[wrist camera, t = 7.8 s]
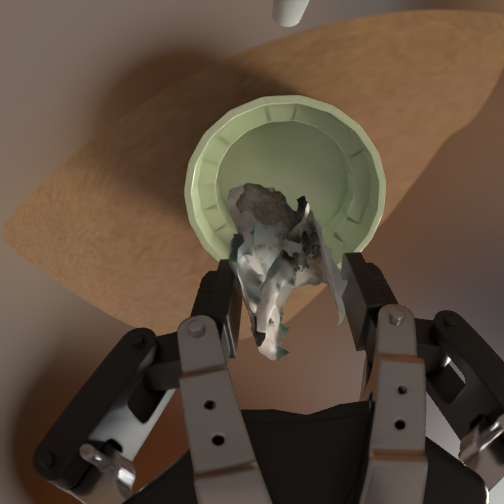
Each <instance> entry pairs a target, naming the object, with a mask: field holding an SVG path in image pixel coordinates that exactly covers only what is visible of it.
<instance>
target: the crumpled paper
mask: <svg viewBox="0 0 504 504" xmlns="http://www.w3.org/2000/svg"><path fill="white" fill-rule="evenodd" d="M297 202H298V208H297V211H294V210H292V208H291V207H290V206H289V205H288V204H287V201H286V197H285V196H284V195H283V194H282V193H281V192H280V191H275V188H274V187H269V188H265V187H263V186H262V185H260V184H256V185H255V184H252V183H246V184H243V185H241V186H239V187H235V188H232V189H230V190H229V194H228V197H227V200H226V203H227V207H228V209H229V212H230V214H231V217H232V219H233V222H234V224H235V226H236V229H237V232H238V234H235V233H234V235H233V237H234V238H232V239H231V240H230V242H231V243H230V251H229V259H230V260H229V265H230V266H231V268H232V270H233V272H234V275H235V277H236V279H237V281H238V283H239V286H240V288H241V294H242V297H243V300H244V303H245V305H246V308H247V310H248V314H249V316H250V319H251V320H250V321H251V323H252V328H251V331H252V333H253V336H254V337H255V340H256V345H257V347H258V349H259V351H260V353H262V354H264V355H265V356H266V357H268V358H269V359H271V360H275V359H276V360H280V359H285V358H283V357H284V356H285V355H286V354H287V353H288V351H286V350H284V349H283V348H282V343H281V340H282V339H283V338H284V337H285V336H286V334H287V332H288V329H289V327H288V328H285V327H284V326H283V325H282V324H281V323H280V322H281V319H282V317H281V316H282V315H284V314H283V309H284V305H285V303H286V301H287V299H288V297H289V295H290V293H291V291H292V289H294V288H296V287H298V286H302V285H306V284H312V285H319V284H320V283H322V282H323V283H326V284H328V286H329V290H330V293H331V296H332V298H333V299H334V301H335V304H336V306H337V310H338V312H339V316H340V320H339V323H338V326H339V324H340V323H341V322H342V321H343V319H344V316H345V308H344V304H343V301H342V298H341V297H342V295H343V292H344V290H345V288H346V286H347V284H348V280H342V277H341V272H340V269H339V268H338V267H337V265H336V264H335V262H334V260H333V258H332V256H331V255H332V247H327V246H326V244H325V242H324V240H323V237H322V229H321V226H320V220H316V219H315V217H314V214H313V211H311V210H310V207H309V203H308V200H307V198H306V197H305V195H304V196H301V197H300V198H298V199H297Z"/></svg>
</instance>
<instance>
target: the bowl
mask: <svg viewBox="0 0 504 504" xmlns="http://www.w3.org/2000/svg"><path fill="white" fill-rule="evenodd" d="M246 183H252V184H255V185H256V184H260V185H262V186H263V187H265V188H269V187H274V188H275V191H280V192H281V193H282V194H283V195H284V196H285V197H286V201H287V204H288V205H289V206H290V207H291V208H292V210H294V211H297V208H298V202H297V199H298V198H300V197H301V196H304V195H305V197H306V198H307V200H308V203H309V207H310V210H311V211H313V214H314V217H315V219H316V220H320V226H321V229H322V237H323V240H324V242H325V244H326V246H327V247H332V255H331V256H332V258H333V260H334V262H335V264H336V265H337V267H338V268H339V269H341V264H342V255H343V253H351V252H361V251H362V250H363V249H364V248H365V247H366V245H367V244H368V243H369V242H370V240H371V239H372V238H373V235H374V233H375V231H376V229H377V226H378V224H379V222H380V219H381V217H382V214H383V212H384V203H385V191H386V180H385V176H384V171H383V167H382V164H381V160H380V156H379V153H378V151H377V149H376V148H375V146H374V145H373V143H372V142H371V140H370V139H369V137H368V136H367V134H366V133H365V131H364V130H363V128H362V127H361V126H360V125H359V124H358V123H357V122H355V121H354V120H353V119H351V118H350V117H349V116H347V115H346V114H345V113H343V112H342V111H341V110H339V109H338V108H336V107H335V106H333V105H331V104H328V103H325V102H322V101H318V100H315V99H312V98H308V97H305V96H302V95H280V96H264V97H260V98H258V99H255V100H253V101H250V102H248V103H245V104H243V105H240V106H238V107H236V108H233V109H231V110H230V111H228V112H227V113H226V114H225V115H223V116H222V117H221V118H220V119H219V120H218V121H217V122H216V123H214V124H213V125H212V126H211V127H210V128H209V129H208V130H207V131H206V132H205V133H204V134H203V136H202V137H201V139H200V141H199V143H198V145H197V147H196V148H195V150H194V152H193V154H192V156H191V158H190V160H189V162H188V167H187V173H186V180H185V187H184V198H185V203H186V208H187V214H188V219H189V223H190V225H191V226H192V228H193V230H194V232H195V234H196V235H197V237H198V239H199V241H200V243H201V244H202V246H203V247H204V249H205V250H206V251H207V252H208V253H210V254H211V255H212V256H213V257H214V258H215V259H216V260H217V261H218V262H220V259H229V251H230V243H231V242H230V240H231V239H232V238H234V237H233V235H234V233H235V234H238V232H237V229H236V226H235V224H234V222H233V219H232V217H231V214H230V212H229V209H228V207H227V203H226V200H227V197H228V194H229V190H230V189H232V188H235V187H239V186H241V185H243V184H246Z"/></svg>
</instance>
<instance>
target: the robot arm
mask: <svg viewBox="0 0 504 504" xmlns="http://www.w3.org/2000/svg"><path fill="white" fill-rule="evenodd" d="M229 260H230V259H220V262H219V266H218V270H217V271H209V272H208V273H207V274H206V275H205V276H204V277H203V278H202V280H201V283H200V288H199V290H198V295H197V296H196V299H195V303H194V306H193V309H192V313H191V316H190V317H189V318H187V319H185V320H184V321H183V322H182V323H181V324H180V325H179V327H178V330H177V331H176V332H174V333H170V334H166V335H161V336H157V337H156V335H155V333H154V332H153V331H152V330H150V329H148V328H136V329H133V330H131V331H129V332H128V333H126V334H125V335H124V336H123V338H122V339H121V340H120V341H119V343H117V345H116V346H115V347H114V348H113V350H112V351H111V352H110V353H109V354H108V356H107V357H106V358H105V359H104V361H103V362H102V363H101V364H100V365H99V367H98V368H97V369H96V370H95V372H94V373H93V374H92V376H91V377H90V378H89V379H88V380H87V382H86V383H85V384H84V386H83V387H82V388H81V389H80V391H79V392H78V393H77V395H76V396H75V397H74V398H73V400H72V401H71V402H70V403H69V405H68V406H67V407H66V409H65V410H64V411H63V413H62V414H61V415H60V417H59V418H58V419H57V421H56V422H55V423H54V425H53V426H52V427H51V429H50V430H49V432H48V433H47V434H46V435H45V437H44V438H43V440H42V441H41V442H40V444H39V445H38V447H37V448H36V450H35V451H34V454H33V466H34V469H35V471H36V473H37V474H38V475H39V476H40V477H42V478H43V479H45V480H47V481H48V482H50V483H52V484H54V485H55V486H56V487H58V488H60V489H61V490H63V491H66V492H68V493H70V494H72V495H73V496H74V497H75V498H77V499H78V500H79V501H81V502H82V503H83V504H488V492H489V491H490V490H491V489H492V488H493V487H494V486H495V485H496V484H497V483H498V482H499V481H500V480H501V479H502V478H503V477H504V362H503V360H502V359H501V358H500V357H499V356H498V355H497V354H496V353H495V351H494V350H493V349H492V348H491V347H490V346H489V345H488V344H487V343H486V342H485V340H483V338H482V337H481V336H480V335H479V334H478V333H477V332H476V331H475V330H474V329H473V328H472V327H471V326H470V325H469V324H468V323H467V322H466V321H465V320H464V319H463V318H462V317H461V316H460V315H459V314H457V313H455V312H453V311H448V310H444V311H440V312H438V313H437V314H436V315H435V318H434V320H425V319H418V318H414V315H413V313H412V312H411V311H410V310H409V309H407V308H406V307H405V306H402V305H399V304H398V302H397V300H396V298H395V296H394V295H393V292H392V291H391V289H390V287H389V285H388V284H387V281H386V279H385V278H384V276H383V274H382V272H381V271H380V269H379V268H378V267H377V266H376V265H374V264H373V263H366V262H365V260H364V258H363V256H362V255H361V253H360V252H351V253H343V255H342V264H341V277H342V280H348V284H347V286H346V288H345V290H344V292H343V295H342V297H341V298H342V301H343V304H344V308H345V312H346V315H347V318H348V322H349V325H350V329H351V332H352V336H353V339H354V343H355V347H356V350H357V351H361V350H365V351H366V354H367V356H366V359H365V362H364V371H363V379H362V386H361V393H360V399H359V402H353V403H346V404H339V405H337V406H334V407H331V408H328V409H325V410H322V411H319V412H316V413H313V414H309V415H303V414H297V413H290V412H285V411H279V410H274V409H269V410H240V407H239V404H238V400H237V397H236V394H235V390H234V387H233V383H232V380H231V376H230V373H229V369H228V360H229V358H236V354H237V345H238V336H239V327H240V317H241V308H242V294H241V288H240V286H239V283H238V281H237V279H236V277H235V275H234V272H233V270H232V268H231V266H230V265H229ZM450 359H451V360H452V361H453V363H454V364H455V365H456V366H457V367H458V369H459V370H460V371H461V372H462V373H463V375H464V377H465V382H466V383H464V382H463V381H462V380H461V378H460V377H459V376H458V375H457V373H456V372H455V371H454V370H453V368H452V367H451V366H450V365H449V363H448V362H449V360H450ZM176 388H180V393H181V400H182V407H183V413H184V420H185V427H186V432H187V438H188V444H189V449H188V450H187V451H186V452H185V453H184V454H183V455H182V456H180V457H179V458H178V459H177V460H176V461H175V462H174V463H172V464H171V465H170V466H169V467H168V468H166V469H165V470H164V471H163V472H162V473H161V474H159V475H158V476H157V477H155V478H154V479H153V480H152V481H150V482H149V483H148V484H147V485H145V486H144V487H143V488H142V489H140V490H139V491H138V492H136V493H135V494H134V495H133V493H132V484H133V482H134V480H135V467H134V465H133V463H132V460H133V459H134V457H135V456H136V454H137V452H138V451H139V449H140V447H141V446H142V444H143V442H144V441H145V439H146V438H147V436H148V434H149V433H150V431H151V429H152V428H153V426H154V424H155V423H156V421H157V419H158V418H159V416H160V415H161V413H162V411H163V410H164V408H165V406H166V405H167V403H168V402H169V400H170V398H171V397H172V395H173V393H174V392H175V390H176ZM426 391H427V393H428V394H429V396H430V397H431V398H432V400H433V401H434V403H435V404H436V406H437V407H438V408H439V410H440V411H441V413H442V414H443V416H444V417H445V418H446V420H447V421H448V423H449V424H450V426H451V427H452V429H453V430H454V432H455V433H456V435H457V436H458V438H459V439H460V441H461V443H460V452H459V454H458V457H459V460H460V461H459V460H458V459H457V458H455V457H454V456H452V455H451V454H450V453H448V452H447V451H445V450H444V449H443V448H441V447H440V446H439V445H437V444H436V443H435V442H433V441H432V440H430V439H429V438H428V437H426V436H425V432H426ZM461 461H462V462H464V463H462V462H461Z"/></svg>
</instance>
